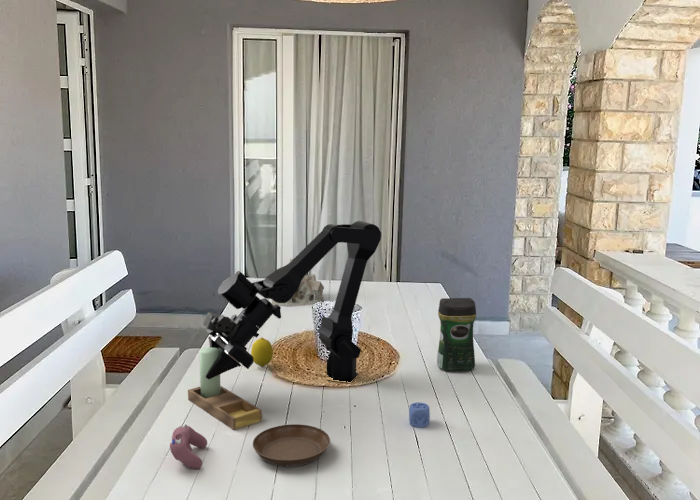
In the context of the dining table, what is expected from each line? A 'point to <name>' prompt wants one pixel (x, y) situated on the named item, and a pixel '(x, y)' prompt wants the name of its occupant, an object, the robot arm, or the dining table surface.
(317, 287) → the ceramic cottage
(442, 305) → the coffee jar
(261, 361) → the lemon
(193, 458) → the video game controller
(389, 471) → the dining table surface
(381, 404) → the dining table surface
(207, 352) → the peg
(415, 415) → the decorative dice
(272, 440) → the saucer
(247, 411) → the wooden compartment tray
